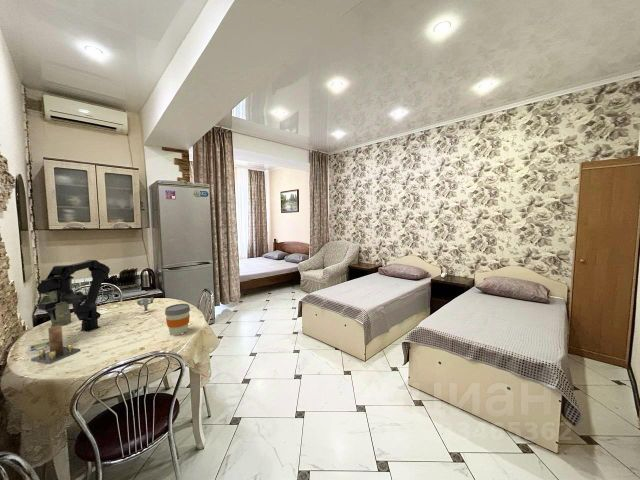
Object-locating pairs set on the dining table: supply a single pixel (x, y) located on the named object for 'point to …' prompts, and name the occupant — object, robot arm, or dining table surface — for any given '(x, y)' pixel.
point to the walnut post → (56, 339)
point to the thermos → (60, 310)
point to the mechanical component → (145, 302)
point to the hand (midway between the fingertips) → (65, 317)
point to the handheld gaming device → (38, 347)
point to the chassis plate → (47, 360)
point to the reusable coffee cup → (177, 318)
